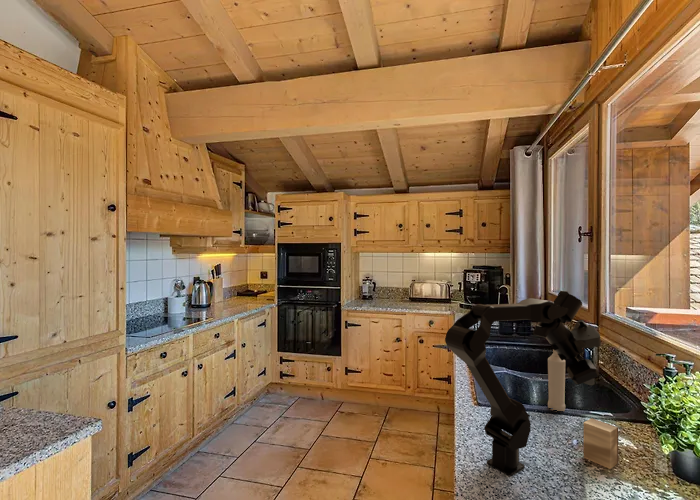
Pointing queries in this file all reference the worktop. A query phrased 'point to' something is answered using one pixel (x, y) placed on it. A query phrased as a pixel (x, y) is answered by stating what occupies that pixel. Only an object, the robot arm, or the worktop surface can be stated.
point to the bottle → (556, 382)
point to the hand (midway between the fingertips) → (584, 371)
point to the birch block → (601, 443)
